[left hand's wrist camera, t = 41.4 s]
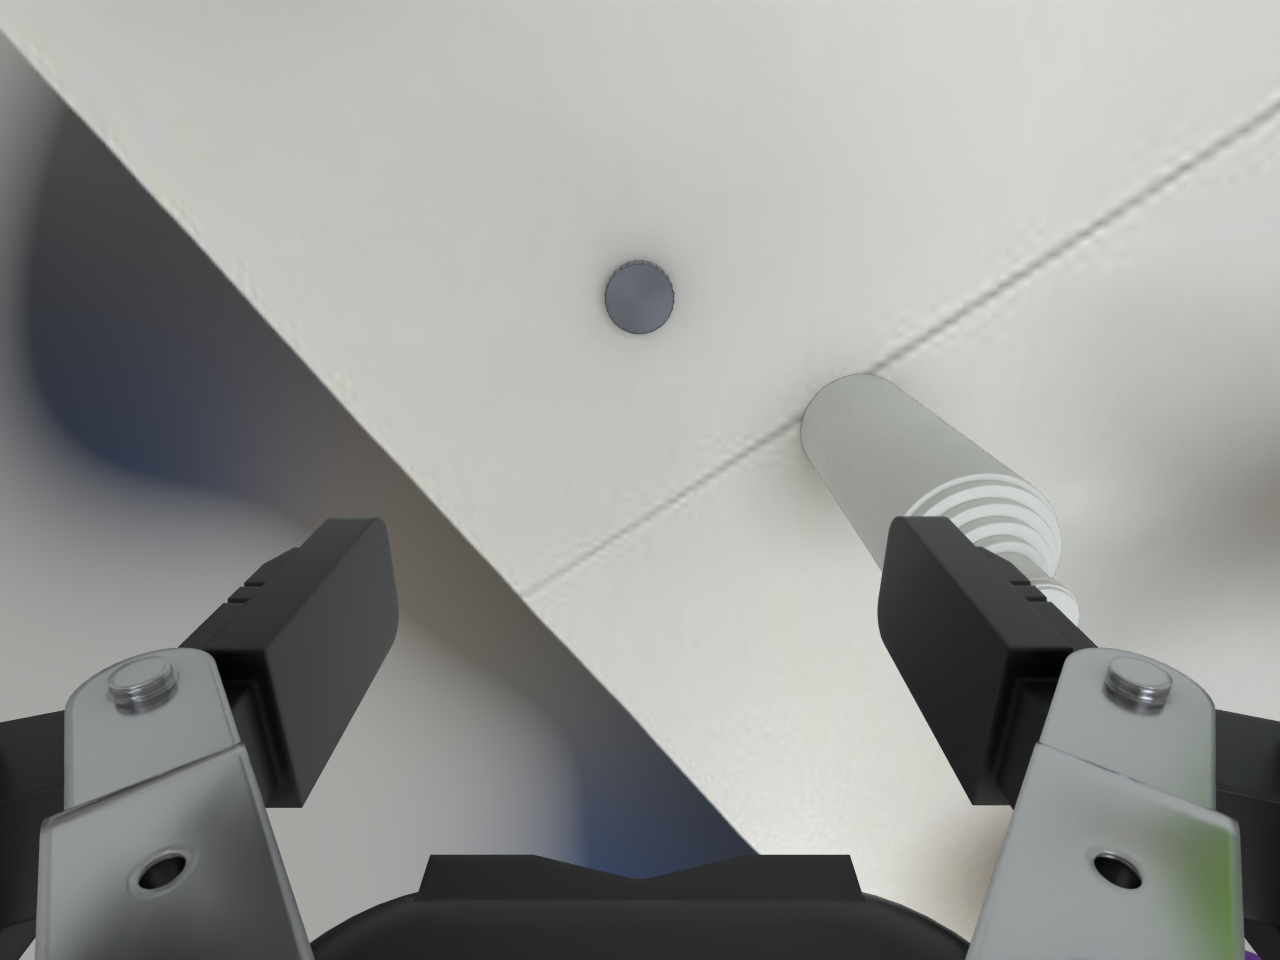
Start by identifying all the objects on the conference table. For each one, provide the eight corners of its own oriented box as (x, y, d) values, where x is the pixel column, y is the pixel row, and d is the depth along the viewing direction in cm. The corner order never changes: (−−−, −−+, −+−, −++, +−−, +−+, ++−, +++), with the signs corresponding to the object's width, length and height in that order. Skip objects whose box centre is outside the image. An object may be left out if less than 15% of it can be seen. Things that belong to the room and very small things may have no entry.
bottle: (915, 370, 45) (1166, 526, 24) (906, 475, 48) (1123, 701, 26) (802, 377, 45) (948, 538, 24) (799, 481, 48) (927, 710, 27)
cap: (594, 279, 43) (591, 283, 41) (654, 247, 42) (655, 250, 40) (625, 339, 44) (624, 346, 42) (684, 309, 44) (686, 315, 42)
